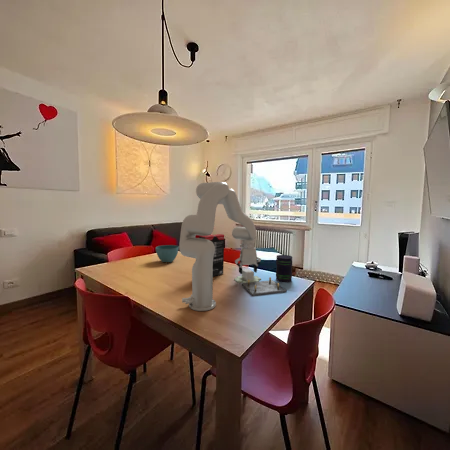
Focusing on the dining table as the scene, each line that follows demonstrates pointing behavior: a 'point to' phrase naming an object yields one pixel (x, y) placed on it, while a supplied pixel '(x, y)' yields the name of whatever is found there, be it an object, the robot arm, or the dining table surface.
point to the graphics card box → (217, 252)
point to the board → (256, 279)
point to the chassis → (263, 287)
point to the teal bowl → (167, 252)
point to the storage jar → (284, 268)
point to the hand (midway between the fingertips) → (248, 272)
